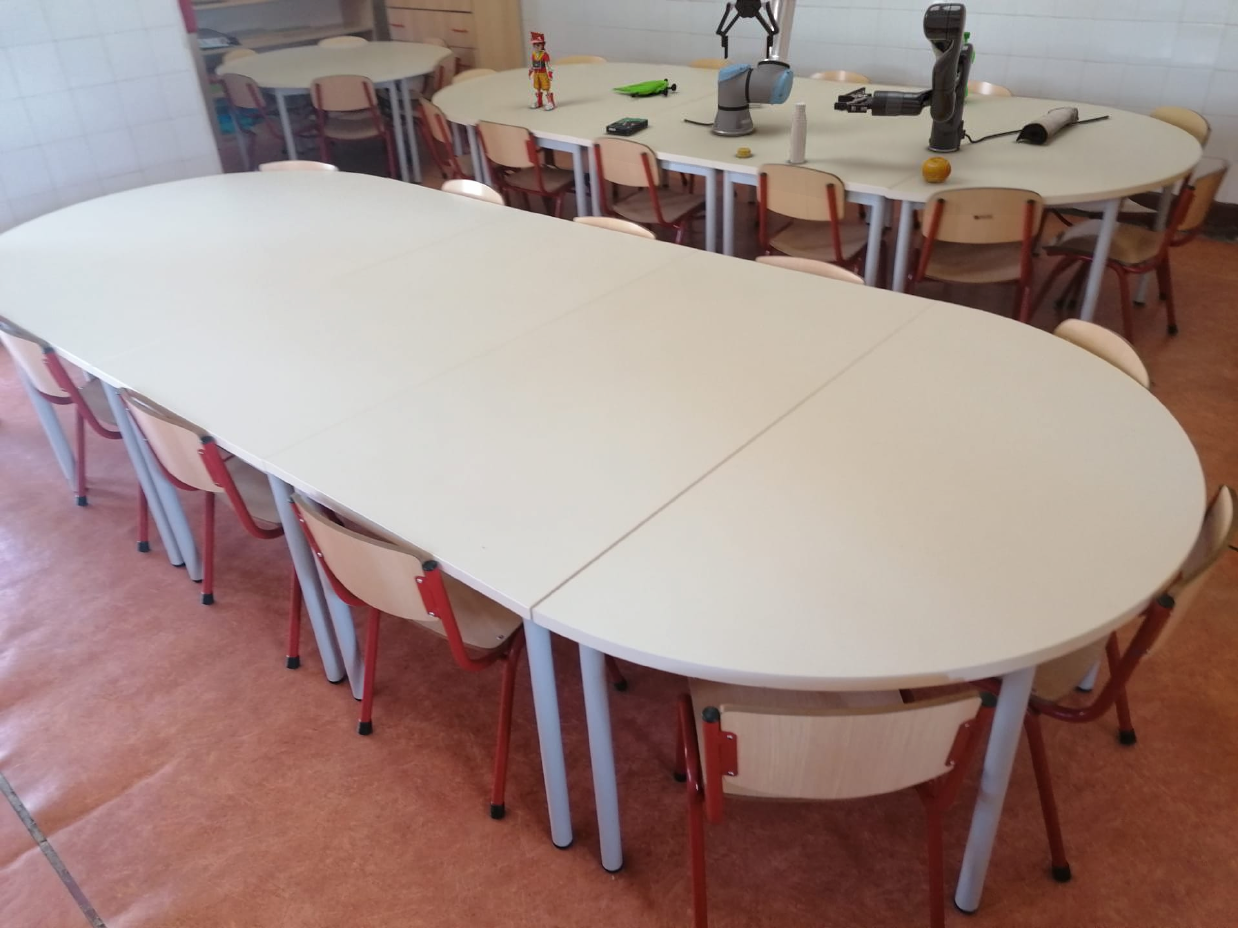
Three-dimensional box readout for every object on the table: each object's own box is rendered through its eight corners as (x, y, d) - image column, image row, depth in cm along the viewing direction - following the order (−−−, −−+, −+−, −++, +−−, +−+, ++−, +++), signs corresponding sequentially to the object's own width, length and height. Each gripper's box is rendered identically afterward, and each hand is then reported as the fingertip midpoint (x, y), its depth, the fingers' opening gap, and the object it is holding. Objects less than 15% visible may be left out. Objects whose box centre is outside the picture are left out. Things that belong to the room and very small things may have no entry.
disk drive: (628, 136, 338) (648, 126, 348) (628, 129, 337) (648, 118, 347) (605, 134, 343) (625, 123, 353) (605, 126, 341) (625, 116, 351)
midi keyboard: (842, 110, 354) (843, 96, 351) (839, 109, 354) (840, 96, 351) (864, 100, 364) (865, 87, 361) (861, 100, 365) (863, 87, 362)
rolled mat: (1045, 112, 324) (1070, 94, 316) (1059, 133, 324) (1084, 116, 316) (1011, 135, 307) (1037, 117, 298) (1026, 157, 307) (1052, 140, 299)
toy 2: (686, 85, 398) (631, 84, 414) (685, 72, 395) (629, 72, 411) (651, 104, 381) (596, 103, 397) (650, 92, 378) (594, 91, 394)
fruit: (915, 172, 274) (932, 149, 271) (916, 174, 282) (933, 152, 279) (938, 188, 273) (956, 164, 270) (939, 189, 281) (956, 167, 278)
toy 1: (525, 109, 381) (517, 32, 364) (534, 104, 388) (527, 28, 371) (550, 110, 377) (543, 32, 360) (559, 105, 384) (553, 28, 367)
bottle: (797, 158, 305) (800, 101, 294) (807, 161, 301) (811, 103, 291) (786, 161, 302) (789, 104, 292) (797, 164, 299) (800, 106, 288)
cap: (736, 154, 312) (737, 148, 311) (750, 153, 312) (750, 147, 311) (737, 158, 309) (738, 151, 307) (751, 157, 308) (751, 151, 307)
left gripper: (707, -13, 280) (707, 60, 293) (787, -15, 275) (784, 60, 287) (711, -16, 286) (711, 56, 298) (790, -18, 281) (786, 55, 293)
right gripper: (891, 85, 286) (840, 84, 291) (887, 97, 275) (833, 96, 280) (889, 109, 291) (838, 108, 295) (884, 122, 280) (832, 120, 285)
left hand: (746, 58), depth 293 cm, fingers open, 13 cm apart
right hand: (836, 102), depth 288 cm, fingers open, 8 cm apart
